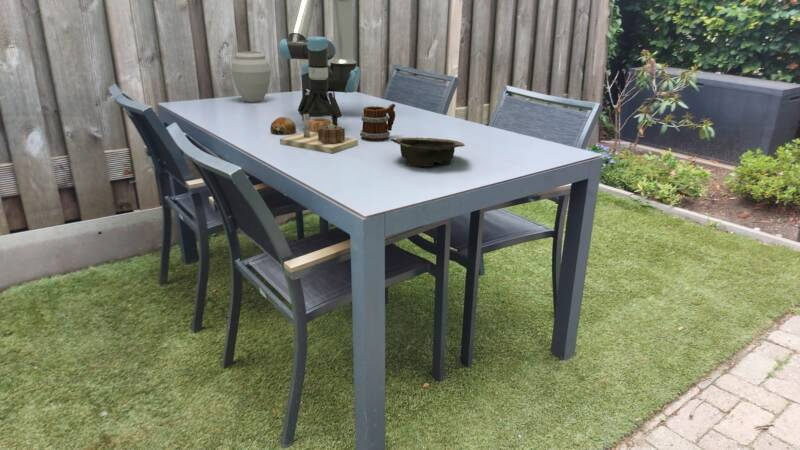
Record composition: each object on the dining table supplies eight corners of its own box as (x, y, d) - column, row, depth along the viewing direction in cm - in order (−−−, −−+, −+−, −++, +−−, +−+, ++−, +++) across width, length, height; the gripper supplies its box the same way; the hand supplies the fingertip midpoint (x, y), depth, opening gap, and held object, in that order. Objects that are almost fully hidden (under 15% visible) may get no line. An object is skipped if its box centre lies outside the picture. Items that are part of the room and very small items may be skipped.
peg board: (280, 143, 209) (278, 122, 206) (307, 136, 222) (306, 115, 219) (332, 153, 198) (331, 131, 195) (357, 144, 211) (357, 123, 208)
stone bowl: (410, 174, 177) (410, 144, 174) (381, 160, 199) (380, 133, 196) (478, 166, 186) (478, 138, 183) (443, 153, 208) (443, 128, 205)
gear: (303, 132, 227) (302, 120, 225) (318, 128, 235) (317, 116, 233) (322, 136, 223) (321, 123, 221) (336, 131, 230) (336, 119, 229)
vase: (227, 103, 284) (222, 53, 275) (243, 97, 302) (239, 50, 293) (264, 105, 281) (260, 54, 272) (278, 99, 299) (275, 51, 290)
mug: (352, 136, 223) (357, 98, 218) (382, 138, 231) (388, 101, 227) (366, 142, 214) (373, 102, 209) (397, 144, 222) (404, 106, 218)
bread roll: (298, 142, 228) (304, 123, 228) (278, 134, 220) (284, 115, 220) (283, 137, 234) (289, 119, 234) (263, 130, 226) (269, 111, 226)
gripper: (287, 76, 223) (290, 129, 231) (338, 82, 212) (339, 137, 220) (299, 74, 229) (301, 126, 237) (350, 80, 218) (350, 134, 226)
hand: (319, 132), depth 229 cm, fingers open, 13 cm apart
